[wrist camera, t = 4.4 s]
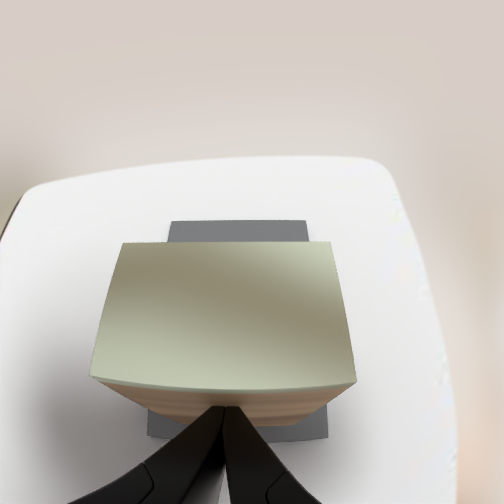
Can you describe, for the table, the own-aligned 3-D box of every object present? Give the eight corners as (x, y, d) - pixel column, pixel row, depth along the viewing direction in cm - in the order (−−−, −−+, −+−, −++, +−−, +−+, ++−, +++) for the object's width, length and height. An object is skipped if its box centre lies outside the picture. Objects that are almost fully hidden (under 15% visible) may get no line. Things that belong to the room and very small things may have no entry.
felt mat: (325, 437, 14) (328, 437, 13) (150, 435, 13) (147, 435, 13) (304, 224, 22) (305, 220, 21) (172, 225, 22) (171, 221, 21)
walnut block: (293, 425, 13) (357, 381, 6) (180, 423, 13) (88, 375, 5) (288, 357, 16) (329, 241, 8) (184, 357, 16) (122, 243, 8)
